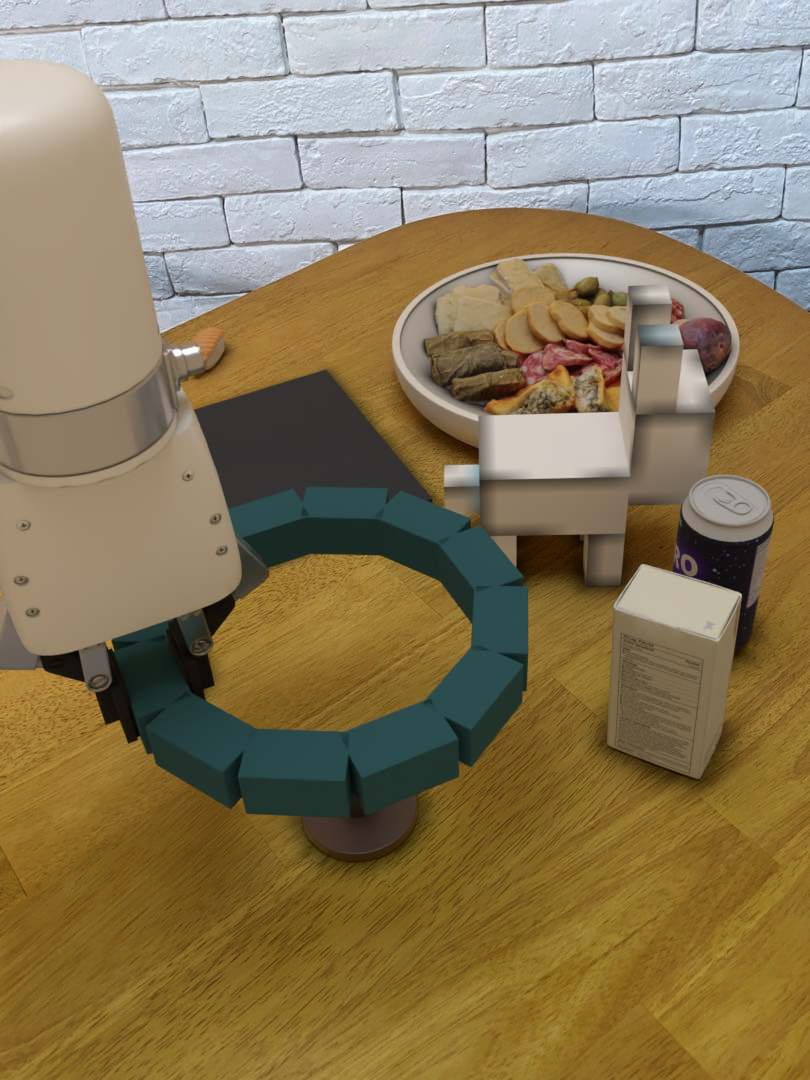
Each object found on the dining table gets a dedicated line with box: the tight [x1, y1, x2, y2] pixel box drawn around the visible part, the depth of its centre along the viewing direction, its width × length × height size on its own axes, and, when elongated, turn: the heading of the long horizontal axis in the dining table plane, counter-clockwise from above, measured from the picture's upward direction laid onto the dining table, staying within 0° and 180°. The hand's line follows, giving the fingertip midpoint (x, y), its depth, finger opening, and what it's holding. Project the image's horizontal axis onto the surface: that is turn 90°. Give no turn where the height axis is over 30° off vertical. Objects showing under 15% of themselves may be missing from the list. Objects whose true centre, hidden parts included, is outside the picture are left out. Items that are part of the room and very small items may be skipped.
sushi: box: [190, 326, 226, 371], centre depth 107 cm, size 3×6×3 cm, turn 167°
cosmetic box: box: [606, 563, 742, 780], centre depth 67 cm, size 6×4×12 cm
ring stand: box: [301, 793, 419, 862], centre depth 67 cm, size 7×7×5 cm
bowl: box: [391, 252, 741, 449], centre depth 99 cm, size 30×30×8 cm
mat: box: [193, 369, 433, 509], centre depth 94 cm, size 22×22×1 cm
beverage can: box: [671, 474, 775, 653], centre depth 73 cm, size 6×6×12 cm
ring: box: [110, 487, 529, 818], centre depth 58 cm, size 21×21×3 cm
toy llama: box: [443, 285, 717, 587], centre depth 78 cm, size 8×18×20 cm, turn 88°
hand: (160, 707), depth 56 cm, fingers closed on ring, 2 cm apart
